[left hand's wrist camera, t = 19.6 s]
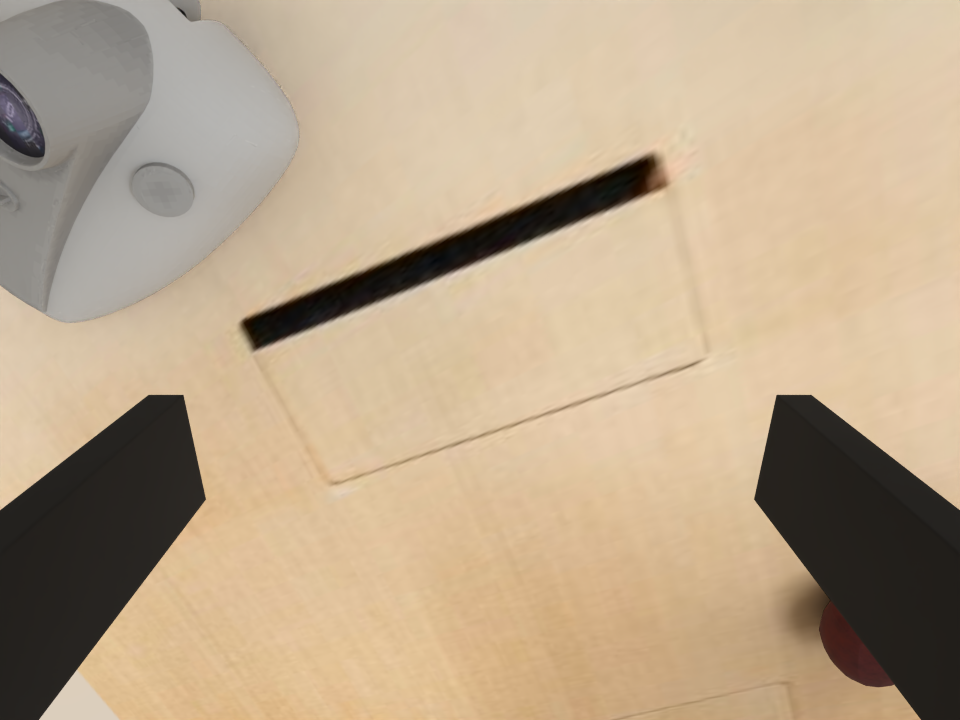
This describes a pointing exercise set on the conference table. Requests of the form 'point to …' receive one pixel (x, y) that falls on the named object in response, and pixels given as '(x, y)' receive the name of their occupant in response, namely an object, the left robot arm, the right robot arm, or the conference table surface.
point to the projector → (126, 148)
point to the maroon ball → (849, 650)
